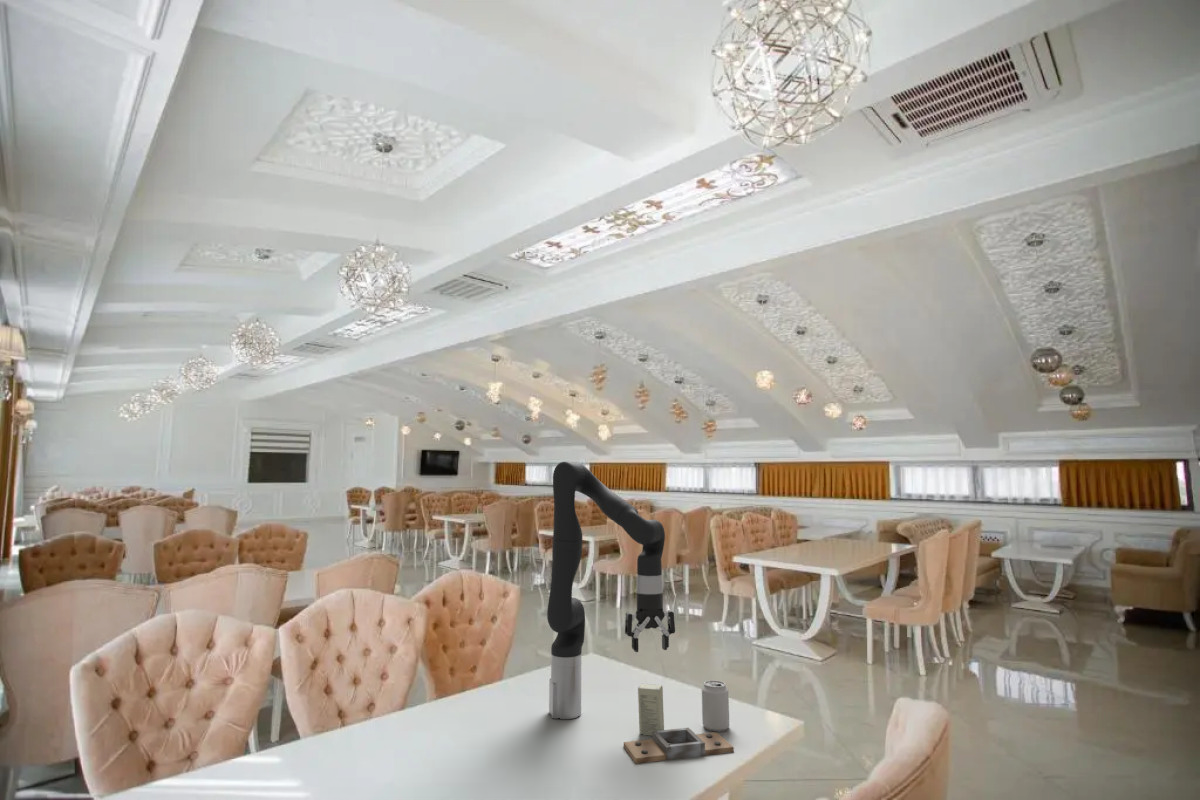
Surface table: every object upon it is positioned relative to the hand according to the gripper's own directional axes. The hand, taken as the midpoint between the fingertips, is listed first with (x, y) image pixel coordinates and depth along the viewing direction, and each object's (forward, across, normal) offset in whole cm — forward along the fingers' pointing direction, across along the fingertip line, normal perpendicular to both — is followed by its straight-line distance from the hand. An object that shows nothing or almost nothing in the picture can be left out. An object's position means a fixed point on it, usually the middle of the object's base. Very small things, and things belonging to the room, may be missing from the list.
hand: (650, 650), depth 168 cm
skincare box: (+22, 0, 0) cm, 22 cm away
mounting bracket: (+22, -3, +12) cm, 25 cm away
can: (+22, -19, +1) cm, 29 cm away
